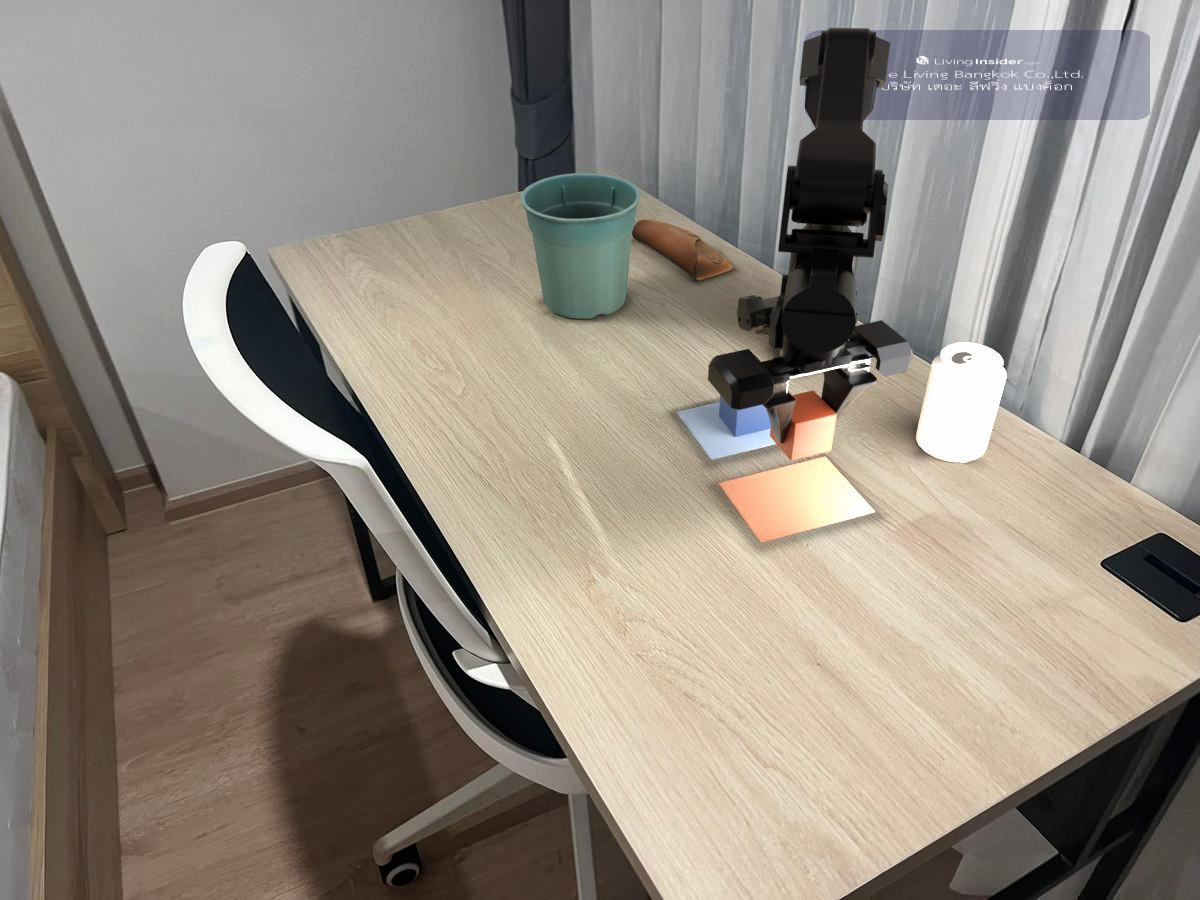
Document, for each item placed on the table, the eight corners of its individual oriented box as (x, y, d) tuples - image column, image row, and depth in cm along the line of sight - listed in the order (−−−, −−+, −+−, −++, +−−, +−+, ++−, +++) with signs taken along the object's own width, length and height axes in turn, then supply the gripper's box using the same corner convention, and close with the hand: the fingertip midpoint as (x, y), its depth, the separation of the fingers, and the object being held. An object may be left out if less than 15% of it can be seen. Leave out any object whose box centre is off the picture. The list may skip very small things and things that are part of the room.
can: (935, 420, 105) (956, 330, 98) (996, 446, 101) (1023, 354, 93) (901, 448, 101) (920, 357, 94) (963, 477, 97) (989, 383, 89)
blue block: (753, 408, 107) (755, 376, 105) (770, 428, 104) (773, 396, 101) (718, 416, 106) (720, 384, 103) (735, 437, 103) (737, 404, 100)
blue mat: (773, 393, 111) (774, 389, 110) (814, 438, 103) (815, 434, 103) (676, 415, 108) (676, 411, 107) (710, 463, 100) (711, 459, 100)
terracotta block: (808, 426, 92) (813, 389, 90) (831, 451, 89) (837, 413, 86) (769, 435, 91) (773, 399, 89) (790, 461, 88) (795, 423, 85)
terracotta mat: (824, 460, 100) (825, 455, 99) (874, 515, 92) (875, 511, 92) (717, 487, 97) (717, 482, 96) (760, 547, 89) (760, 542, 89)
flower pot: (664, 305, 130) (665, 197, 120) (568, 340, 123) (561, 229, 113) (600, 265, 141) (596, 164, 131) (509, 296, 134) (498, 191, 124)
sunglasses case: (739, 266, 138) (722, 236, 133) (705, 297, 138) (688, 268, 133) (673, 226, 150) (656, 198, 146) (643, 255, 150) (625, 228, 146)
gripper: (861, 242, 88) (841, 376, 98) (686, 275, 84) (683, 412, 93) (929, 291, 80) (900, 432, 89) (739, 330, 76) (729, 475, 85)
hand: (801, 435), depth 90 cm, fingers closed on terracotta block, 4 cm apart
